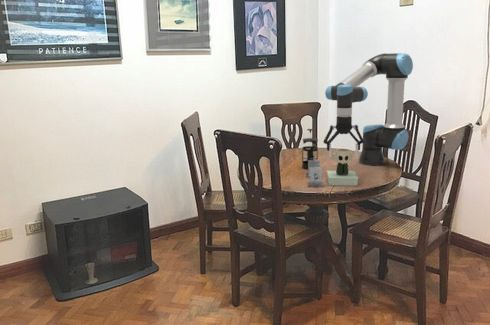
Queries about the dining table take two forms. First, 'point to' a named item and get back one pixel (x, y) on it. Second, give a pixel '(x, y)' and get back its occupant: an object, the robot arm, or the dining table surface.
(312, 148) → the french press
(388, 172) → the dining table surface
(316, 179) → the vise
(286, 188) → the dining table surface
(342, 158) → the character mug
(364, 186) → the dining table surface
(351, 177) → the stand
